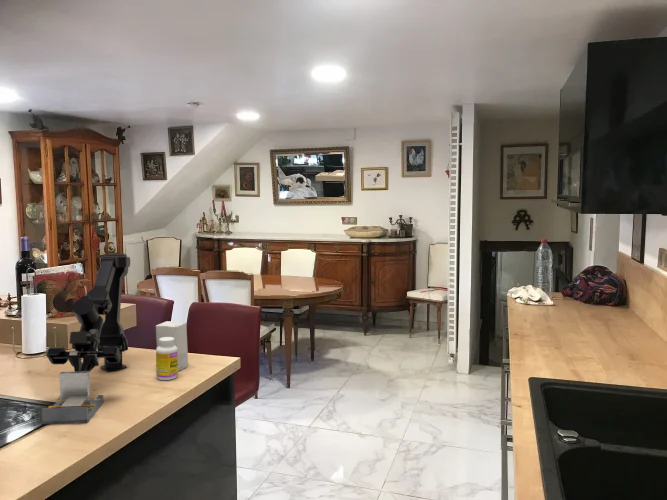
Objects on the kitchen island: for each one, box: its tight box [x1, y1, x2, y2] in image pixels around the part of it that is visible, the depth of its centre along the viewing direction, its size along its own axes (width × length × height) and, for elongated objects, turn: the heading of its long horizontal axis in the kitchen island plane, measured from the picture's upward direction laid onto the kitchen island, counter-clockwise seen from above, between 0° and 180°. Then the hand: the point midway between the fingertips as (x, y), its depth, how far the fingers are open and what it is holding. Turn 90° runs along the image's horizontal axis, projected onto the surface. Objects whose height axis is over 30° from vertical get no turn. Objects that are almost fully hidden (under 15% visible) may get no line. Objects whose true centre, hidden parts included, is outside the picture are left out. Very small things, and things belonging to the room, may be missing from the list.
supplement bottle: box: [155, 337, 179, 381], centre depth 170 cm, size 7×7×13 cm
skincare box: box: [155, 320, 189, 372], centre depth 179 cm, size 8×7×16 cm
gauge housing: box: [41, 394, 105, 425], centre depth 142 cm, size 14×11×4 cm
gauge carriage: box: [47, 371, 95, 408], centre depth 141 cm, size 4×12×10 cm, turn 97°
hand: (77, 382), depth 145 cm, fingers closed
